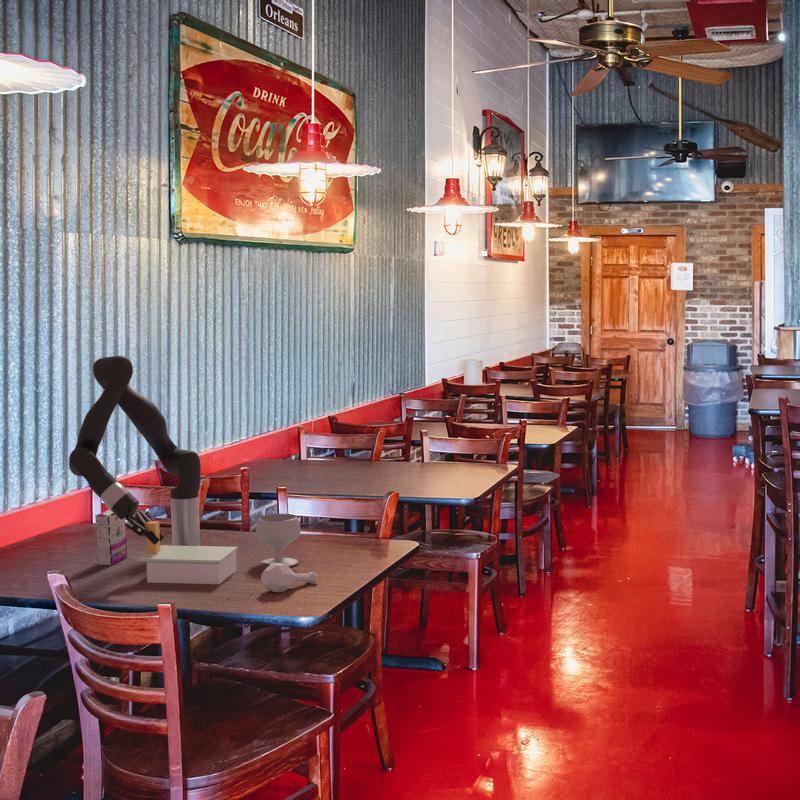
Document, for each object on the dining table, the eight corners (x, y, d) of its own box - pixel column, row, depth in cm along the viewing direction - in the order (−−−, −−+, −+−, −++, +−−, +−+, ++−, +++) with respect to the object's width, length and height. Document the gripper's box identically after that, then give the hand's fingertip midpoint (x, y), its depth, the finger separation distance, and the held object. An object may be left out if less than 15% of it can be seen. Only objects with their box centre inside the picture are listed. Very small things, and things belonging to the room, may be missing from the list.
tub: (167, 571, 318) (167, 549, 318) (236, 573, 315) (236, 550, 314) (147, 585, 302) (146, 562, 302) (219, 587, 299) (218, 563, 298)
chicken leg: (325, 588, 299) (321, 560, 302) (276, 588, 287) (272, 559, 290) (307, 595, 305) (303, 567, 307) (258, 595, 292) (254, 566, 295)
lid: (159, 547, 318) (158, 516, 318) (238, 549, 315) (237, 517, 314) (137, 561, 302) (136, 528, 301) (219, 563, 298) (218, 529, 297)
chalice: (304, 568, 320) (302, 520, 318) (258, 571, 317) (257, 523, 315) (298, 557, 333) (297, 511, 332) (255, 560, 330) (253, 514, 329)
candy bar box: (113, 557, 339) (111, 507, 337) (127, 557, 338) (125, 507, 336) (96, 565, 328) (94, 514, 326) (111, 566, 327) (109, 514, 325)
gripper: (117, 496, 302) (159, 537, 302) (137, 487, 316) (176, 527, 315) (101, 513, 304) (142, 555, 303) (121, 504, 318) (160, 544, 317)
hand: (159, 540), depth 309 cm, fingers closed on lid, 3 cm apart
